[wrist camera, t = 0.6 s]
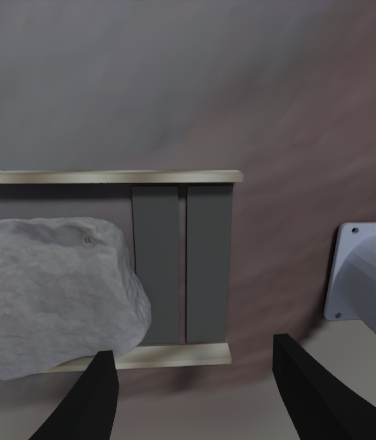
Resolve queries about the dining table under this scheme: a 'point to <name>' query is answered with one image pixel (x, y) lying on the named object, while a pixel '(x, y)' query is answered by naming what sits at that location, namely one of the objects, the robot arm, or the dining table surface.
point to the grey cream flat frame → (150, 354)
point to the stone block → (66, 293)
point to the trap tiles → (196, 259)
